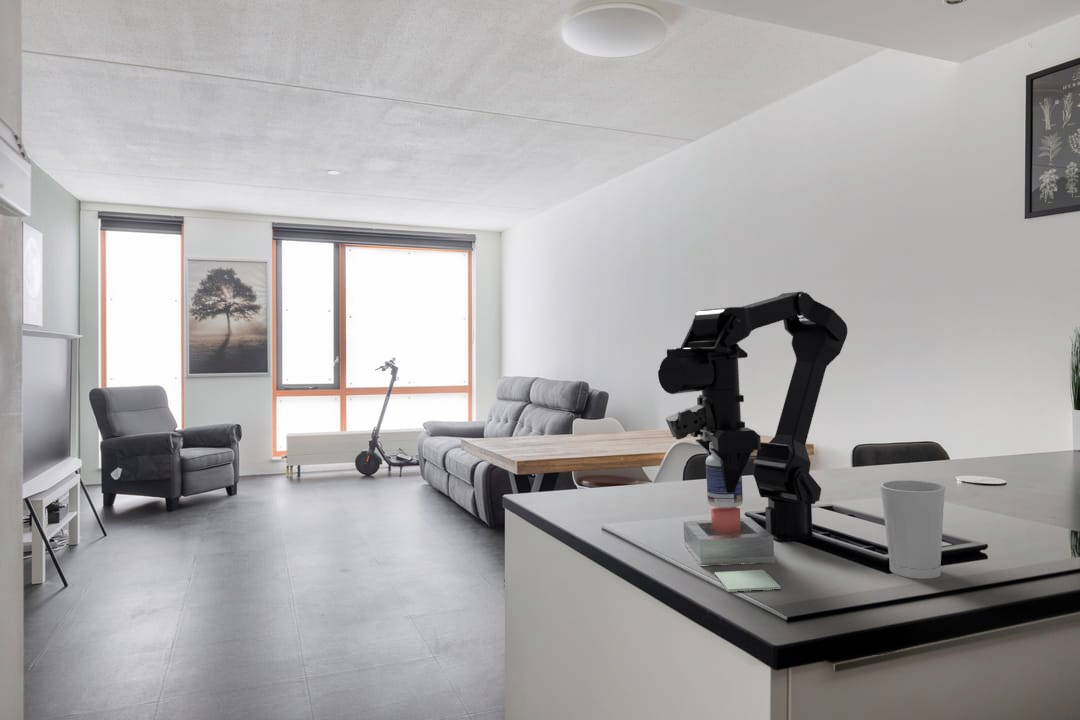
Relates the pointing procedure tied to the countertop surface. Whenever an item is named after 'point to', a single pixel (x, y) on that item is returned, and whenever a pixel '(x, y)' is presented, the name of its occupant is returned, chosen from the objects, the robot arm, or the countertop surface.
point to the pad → (746, 580)
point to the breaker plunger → (725, 520)
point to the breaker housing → (728, 543)
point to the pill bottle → (720, 485)
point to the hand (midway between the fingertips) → (725, 488)
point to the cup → (913, 527)
